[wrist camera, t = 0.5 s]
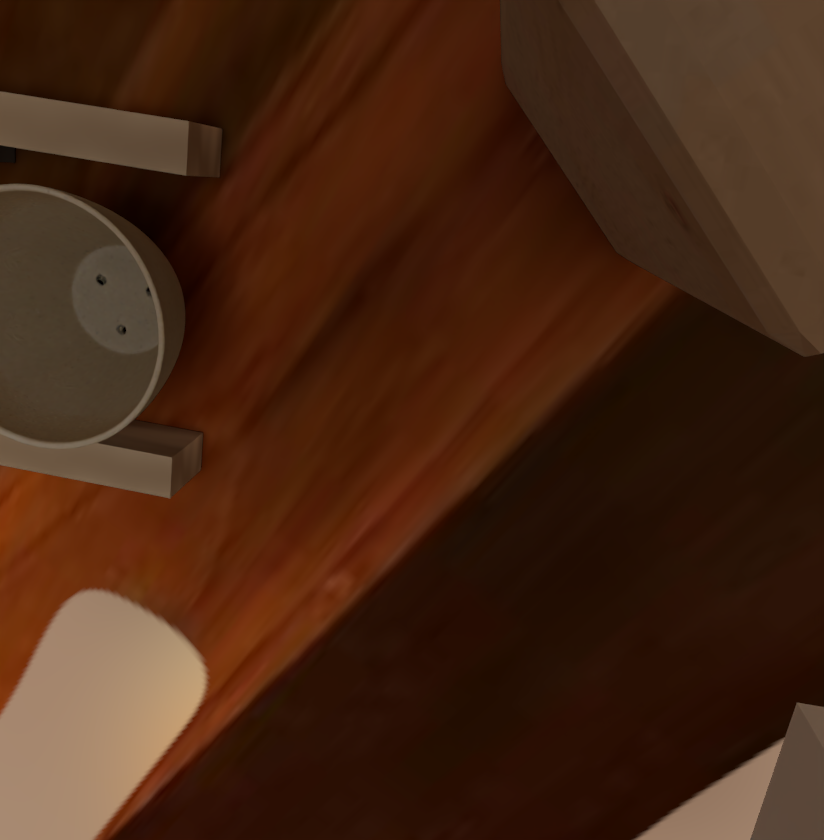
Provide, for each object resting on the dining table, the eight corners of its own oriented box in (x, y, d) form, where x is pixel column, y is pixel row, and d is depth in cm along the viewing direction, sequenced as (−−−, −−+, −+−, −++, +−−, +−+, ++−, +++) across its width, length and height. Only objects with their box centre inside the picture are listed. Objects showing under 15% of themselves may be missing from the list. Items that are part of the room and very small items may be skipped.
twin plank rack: (-166, 67, 32) (-243, 52, 29) (222, 128, 31) (188, 121, 28) (-135, 405, 37) (-197, 426, 34) (200, 470, 36) (170, 498, 33)
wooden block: (625, 270, 31) (820, 394, 12) (491, 65, 29) (466, -171, 10) (851, 116, 28) (1570, -40, 9) (717, -119, 26) (1262, -912, 7)
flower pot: (272, 341, 34) (213, 379, 27) (108, 433, 36) (17, 489, 29) (152, 142, 32) (56, 128, 25) (-13, 254, 34) (-141, 269, 27)
